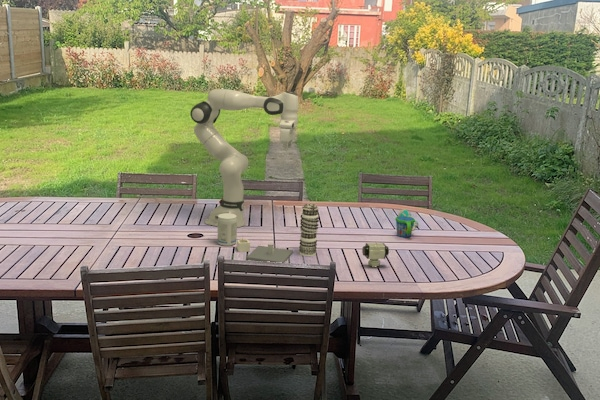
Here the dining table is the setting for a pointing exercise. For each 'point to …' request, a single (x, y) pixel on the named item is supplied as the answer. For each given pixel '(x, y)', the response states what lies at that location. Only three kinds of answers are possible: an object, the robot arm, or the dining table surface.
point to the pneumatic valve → (375, 253)
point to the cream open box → (243, 245)
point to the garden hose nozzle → (407, 213)
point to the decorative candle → (309, 230)
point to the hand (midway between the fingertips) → (287, 148)
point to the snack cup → (404, 225)
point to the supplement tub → (227, 229)
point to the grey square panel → (269, 254)
